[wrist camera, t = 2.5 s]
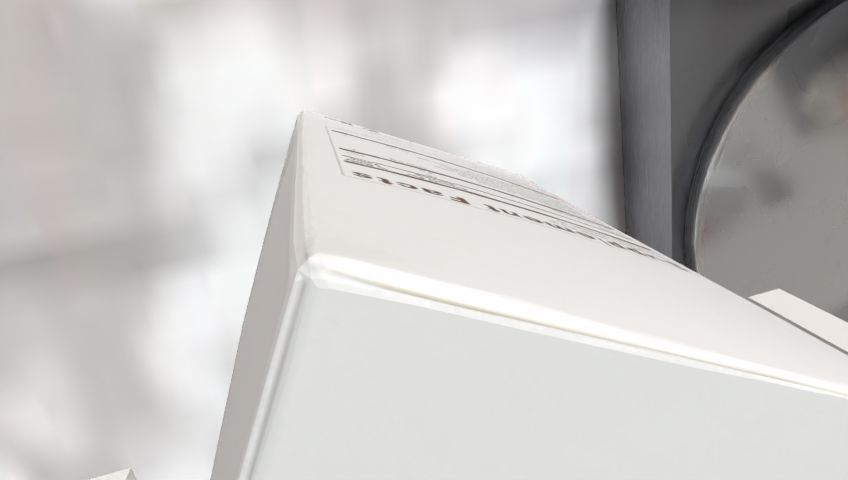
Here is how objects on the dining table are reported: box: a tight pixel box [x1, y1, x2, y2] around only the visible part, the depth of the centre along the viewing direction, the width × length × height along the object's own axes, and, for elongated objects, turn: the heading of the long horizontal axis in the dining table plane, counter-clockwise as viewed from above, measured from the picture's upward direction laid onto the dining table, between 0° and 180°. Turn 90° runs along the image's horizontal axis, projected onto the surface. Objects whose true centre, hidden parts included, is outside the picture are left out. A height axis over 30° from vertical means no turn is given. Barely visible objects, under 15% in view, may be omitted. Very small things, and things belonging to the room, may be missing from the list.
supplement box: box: [210, 110, 848, 480], centre depth 14 cm, size 9×9×15 cm
